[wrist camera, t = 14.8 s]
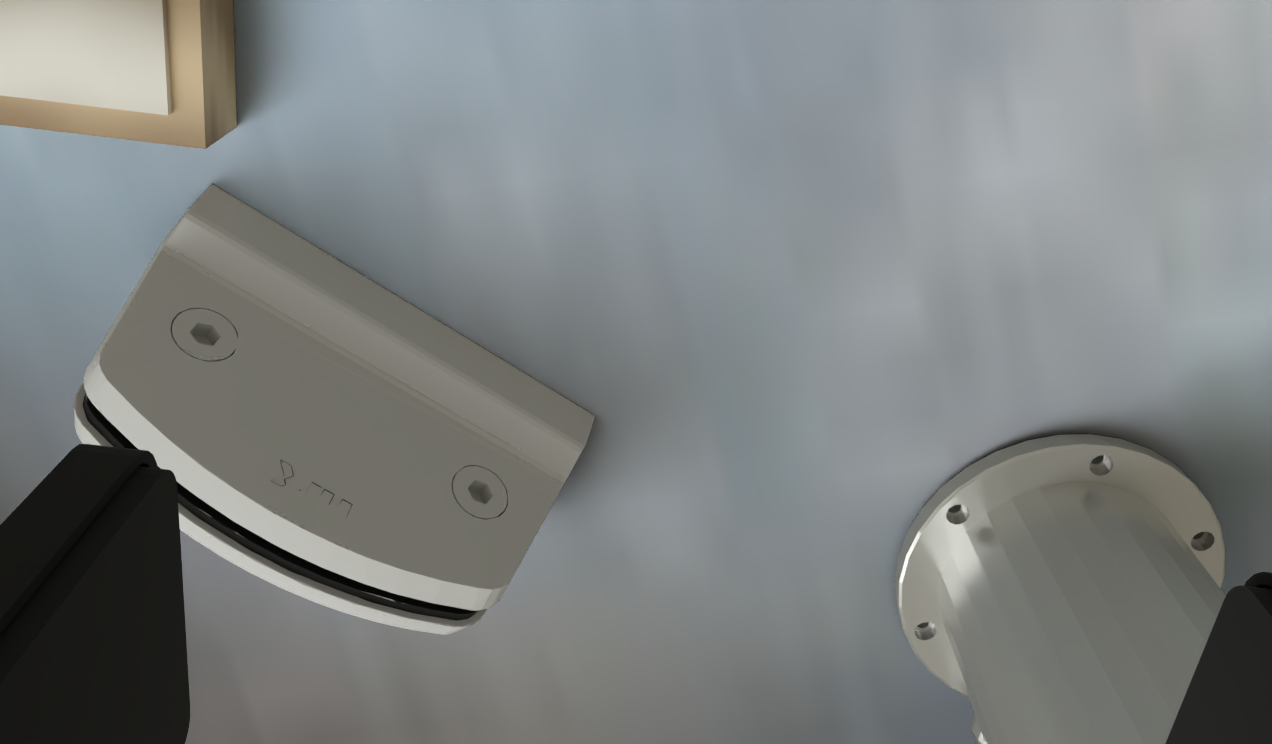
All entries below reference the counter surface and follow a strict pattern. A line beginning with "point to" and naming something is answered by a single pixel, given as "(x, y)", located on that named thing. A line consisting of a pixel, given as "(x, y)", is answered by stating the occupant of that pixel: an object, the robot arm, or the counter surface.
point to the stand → (120, 68)
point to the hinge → (328, 424)
